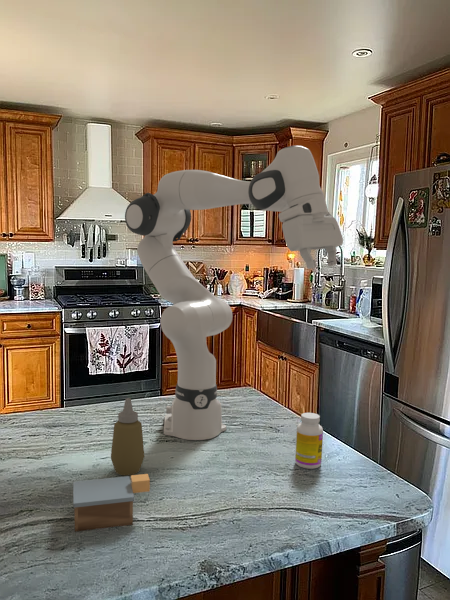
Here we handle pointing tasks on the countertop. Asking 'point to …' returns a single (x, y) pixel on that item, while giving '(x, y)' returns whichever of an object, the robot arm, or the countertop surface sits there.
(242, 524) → the countertop surface
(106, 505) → the walnut box
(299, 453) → the supplement bottle
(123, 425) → the squeeze bottle
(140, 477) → the lid
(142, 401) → the countertop surface
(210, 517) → the countertop surface
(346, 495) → the countertop surface
